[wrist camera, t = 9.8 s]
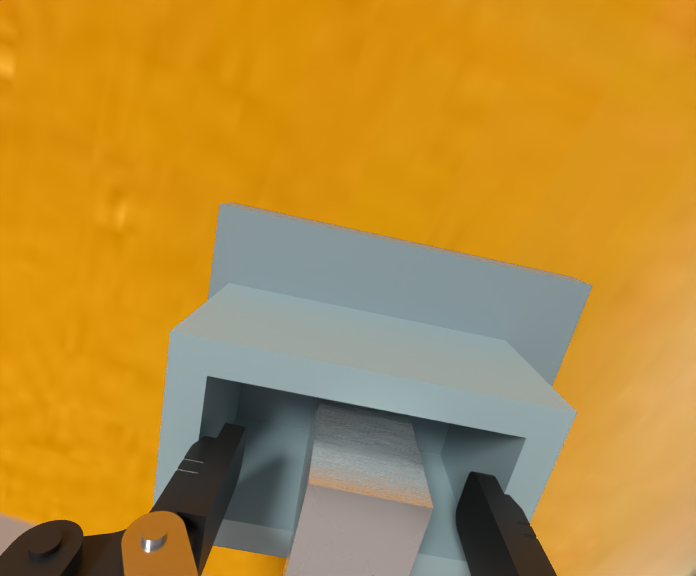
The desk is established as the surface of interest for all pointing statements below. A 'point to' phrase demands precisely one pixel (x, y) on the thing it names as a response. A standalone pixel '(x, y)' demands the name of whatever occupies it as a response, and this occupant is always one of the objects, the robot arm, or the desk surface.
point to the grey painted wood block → (358, 495)
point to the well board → (368, 367)
